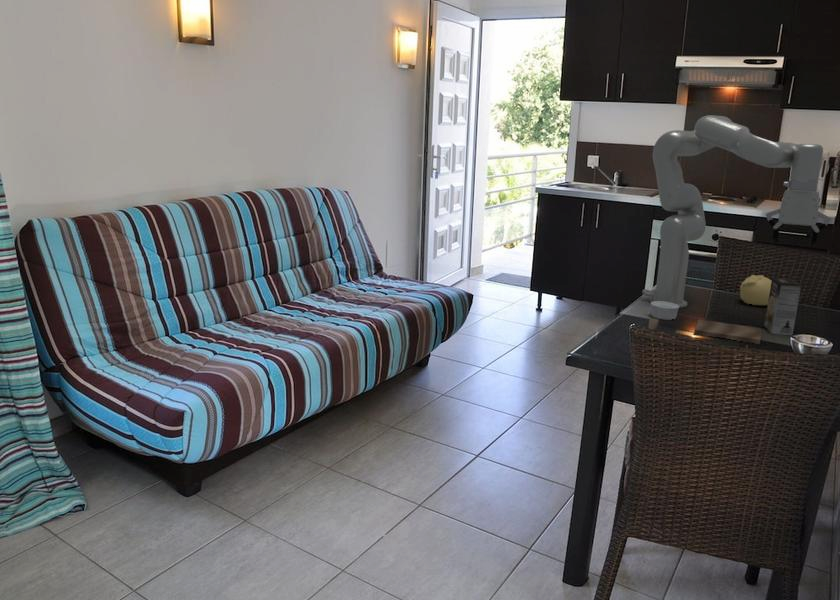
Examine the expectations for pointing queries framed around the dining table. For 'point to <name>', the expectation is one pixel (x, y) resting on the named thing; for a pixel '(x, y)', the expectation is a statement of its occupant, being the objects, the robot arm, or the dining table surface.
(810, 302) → the dining table surface
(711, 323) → the walnut board
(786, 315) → the coffee box
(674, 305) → the ramekin
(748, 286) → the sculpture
